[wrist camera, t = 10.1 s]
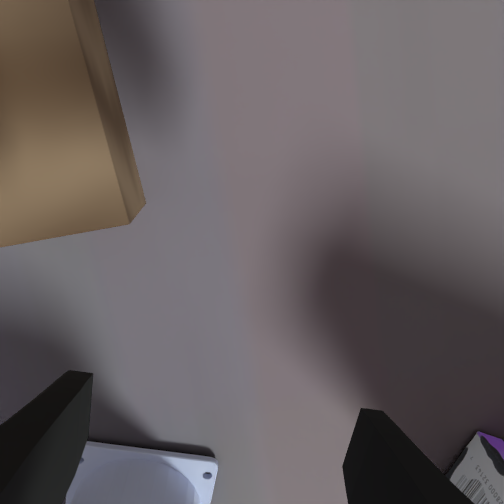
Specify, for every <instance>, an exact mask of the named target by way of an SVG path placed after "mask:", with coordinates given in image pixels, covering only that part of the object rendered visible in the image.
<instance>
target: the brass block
mask: <svg viewBox="0 0 504 504" xmlns="http://www.w3.org/2000/svg"><path fill="white" fill-rule="evenodd" d="M145 204H146V201H145V197H144V193H143V189H142V185H141V181H140V177H139V174H138V170H137V166H136V162H135V158H134V154H133V150H132V146H131V143H130V139H129V135H128V131H127V127H126V123H125V119H124V115H123V112H122V108H121V104H120V100H119V96H118V92H117V88H116V84H115V81H114V77H113V73H112V69H111V65H110V61H109V57H108V53H107V49H106V46H105V42H104V38H103V34H102V30H101V26H100V22H99V18H98V15H97V11H96V7H95V3H94V0H0V247H5V246H10V245H16V244H22V243H27V242H33V241H38V240H44V239H49V238H55V237H61V236H66V235H72V234H77V233H83V232H89V231H94V230H100V229H105V228H111V227H116V226H122V225H128V224H130V223H131V222H132V220H133V219H134V218H135V217H136V215H137V214H138V213H139V212H140V210H141V209H142V208H143V206H144V205H145Z"/></svg>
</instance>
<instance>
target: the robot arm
mask: <svg viewBox="0 0 504 504" xmlns="http://www.w3.org/2000/svg"><path fill="white" fill-rule="evenodd" d="M92 382H93V373H86V372H78V371H71V370H69V371H67V372H66V373H64V374H63V375H62V376H61V377H60V378H58V379H57V380H56V381H55V382H54V383H53V384H51V385H50V386H49V387H48V388H47V389H45V390H44V391H43V392H42V393H41V394H39V395H38V396H37V397H36V398H35V399H33V400H32V401H31V402H30V403H28V404H27V405H26V406H25V407H23V408H22V409H21V410H19V411H18V412H17V413H16V414H14V415H13V416H12V417H10V418H9V419H8V420H7V421H5V422H4V423H3V424H1V425H0V504H62V502H63V500H64V498H65V496H66V504H210V502H211V498H212V493H213V489H214V484H215V480H216V475H217V471H218V461H217V460H216V459H215V458H213V457H208V456H200V455H193V454H185V453H177V452H169V451H161V450H153V449H145V448H137V447H129V446H122V445H114V444H106V443H98V442H90V441H87V439H88V434H89V421H90V408H91V395H92ZM81 457H82V458H81ZM342 467H343V474H344V480H345V487H346V493H347V499H348V504H474V503H473V502H472V501H471V500H470V499H469V498H468V497H467V496H466V495H465V494H464V493H463V492H462V491H460V490H459V489H458V488H457V487H456V486H455V485H454V484H453V483H452V482H451V481H450V480H449V479H448V478H447V477H446V476H445V475H444V474H443V473H442V472H441V471H440V470H439V469H438V468H437V467H436V466H435V465H434V464H433V463H432V462H431V461H430V460H429V459H428V458H427V457H426V456H425V455H424V454H423V453H422V452H421V450H420V449H419V448H418V447H417V446H416V445H415V444H414V443H413V442H412V441H411V440H410V439H409V438H408V437H407V436H406V435H405V433H404V432H403V431H402V430H401V429H400V428H399V427H398V426H397V425H396V424H395V423H394V422H393V421H392V420H391V419H390V418H389V417H388V416H387V415H386V414H385V413H384V412H383V411H380V410H372V409H364V408H361V409H360V413H359V416H358V419H357V422H356V425H355V428H354V431H353V434H352V438H351V441H350V444H349V447H348V450H347V453H346V456H345V459H344V463H343V466H342ZM205 472H210V474H206V473H205Z"/></svg>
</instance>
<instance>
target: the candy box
mask: <svg viewBox="0 0 504 504" xmlns="http://www.w3.org/2000/svg"><path fill="white" fill-rule="evenodd" d="M445 476H446V477H447V478H448V479H449V480H450V481H451V482H452V483H453V484H454V485H455V486H456V487H457V488H458V489H459V490H460V491H462V492H463V493H464V494H465V495H466V496H467V497H468V498H469V499H470V500H471V501H472V502H473V503H474V504H504V440H503V439H500V438H497V437H494V436H491V435H488V434H485V433H482V432H480V431H477V433H476V435H475V436H474V438H473V439H472V440H471V442H470V443H469V444H468V445H467V446H466V448H465V449H464V450H463V452H462V453H461V455H460V456H459V458H458V459H457V461H456V462H455V464H454V465H453V466H452V468H451V469H450V470H449V472H448V473H447V474H446V475H445Z"/></svg>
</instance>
